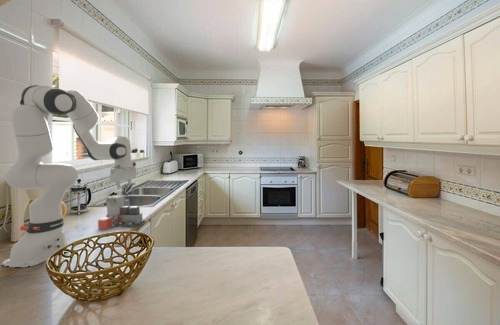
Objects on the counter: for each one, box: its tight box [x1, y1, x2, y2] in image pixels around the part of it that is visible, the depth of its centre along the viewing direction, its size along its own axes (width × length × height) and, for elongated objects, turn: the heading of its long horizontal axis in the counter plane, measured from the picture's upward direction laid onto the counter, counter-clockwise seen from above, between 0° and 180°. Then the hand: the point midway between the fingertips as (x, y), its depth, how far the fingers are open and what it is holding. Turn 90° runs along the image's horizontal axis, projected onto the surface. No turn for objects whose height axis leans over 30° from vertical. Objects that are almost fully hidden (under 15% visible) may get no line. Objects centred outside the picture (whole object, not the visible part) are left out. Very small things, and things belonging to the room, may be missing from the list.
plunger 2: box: [129, 205, 141, 215], centre depth 150 cm, size 4×4×6 cm
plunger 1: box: [120, 205, 131, 215], centre depth 151 cm, size 4×4×6 cm
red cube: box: [97, 217, 113, 230], centre depth 144 cm, size 5×5×5 cm
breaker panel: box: [113, 212, 146, 228], centre depth 151 cm, size 12×12×6 cm
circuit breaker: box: [105, 194, 131, 224], centre depth 160 cm, size 8×14×15 cm, turn 174°
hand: (124, 187), depth 150 cm, fingers open, 7 cm apart
